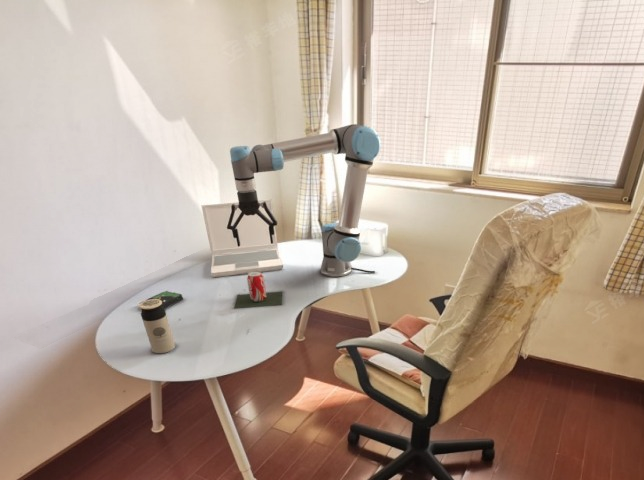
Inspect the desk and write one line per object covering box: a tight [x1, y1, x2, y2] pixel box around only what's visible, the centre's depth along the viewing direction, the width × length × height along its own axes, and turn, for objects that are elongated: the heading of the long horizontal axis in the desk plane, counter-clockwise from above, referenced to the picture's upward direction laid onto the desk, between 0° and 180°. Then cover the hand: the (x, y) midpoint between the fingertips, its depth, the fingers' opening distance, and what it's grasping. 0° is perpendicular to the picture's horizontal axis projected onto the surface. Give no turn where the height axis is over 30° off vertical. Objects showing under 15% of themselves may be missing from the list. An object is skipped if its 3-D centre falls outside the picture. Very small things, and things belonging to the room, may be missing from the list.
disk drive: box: [138, 290, 184, 310], centre depth 200 cm, size 10×3×15 cm
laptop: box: [201, 198, 284, 278], centre depth 229 cm, size 35×26×28 cm
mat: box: [233, 291, 283, 309], centre depth 201 cm, size 20×14×1 cm
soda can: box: [246, 271, 267, 302], centre depth 197 cm, size 7×7×12 cm
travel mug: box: [138, 299, 176, 354], centre depth 163 cm, size 8×8×18 cm
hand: (255, 244), depth 191 cm, fingers open, 13 cm apart
